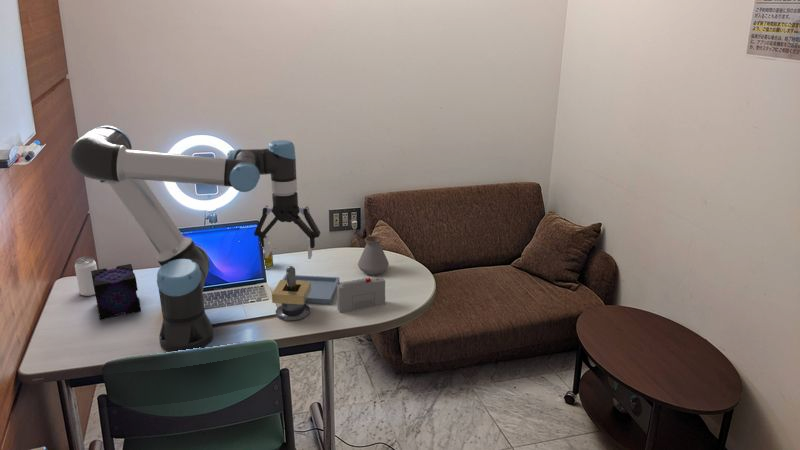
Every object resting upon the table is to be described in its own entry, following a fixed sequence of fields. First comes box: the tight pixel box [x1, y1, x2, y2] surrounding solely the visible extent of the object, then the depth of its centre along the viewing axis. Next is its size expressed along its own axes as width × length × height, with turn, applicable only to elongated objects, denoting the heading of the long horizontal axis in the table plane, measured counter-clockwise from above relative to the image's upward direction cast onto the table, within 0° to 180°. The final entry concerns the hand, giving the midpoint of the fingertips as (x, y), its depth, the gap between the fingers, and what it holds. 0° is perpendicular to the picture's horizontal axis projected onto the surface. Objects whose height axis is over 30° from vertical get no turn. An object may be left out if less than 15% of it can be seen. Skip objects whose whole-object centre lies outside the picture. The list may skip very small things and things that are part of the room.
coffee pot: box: [357, 219, 390, 276], centre depth 224 cm, size 21×12×15 cm, turn 13°
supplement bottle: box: [262, 242, 274, 270], centre depth 223 cm, size 5×5×10 cm
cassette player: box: [336, 276, 386, 314], centre depth 195 cm, size 16×3×10 cm, turn 112°
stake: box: [275, 265, 311, 322], centre depth 189 cm, size 11×11×16 cm
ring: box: [271, 279, 311, 305], centre depth 191 cm, size 12×10×3 cm
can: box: [74, 256, 98, 297], centre depth 201 cm, size 6×6×12 cm
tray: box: [281, 274, 340, 306], centre depth 206 cm, size 17×20×2 cm
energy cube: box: [91, 263, 142, 321], centre depth 192 cm, size 12×12×12 cm
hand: (288, 256), depth 187 cm, fingers open, 13 cm apart
